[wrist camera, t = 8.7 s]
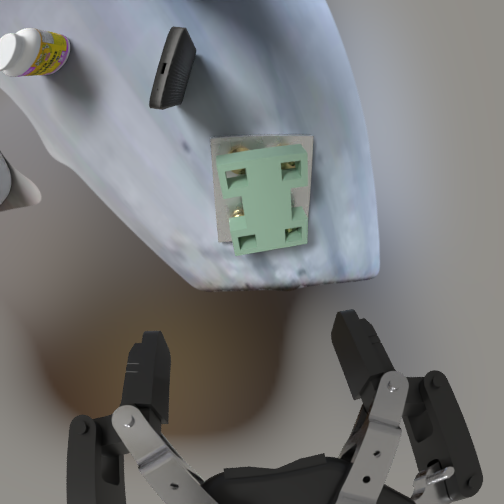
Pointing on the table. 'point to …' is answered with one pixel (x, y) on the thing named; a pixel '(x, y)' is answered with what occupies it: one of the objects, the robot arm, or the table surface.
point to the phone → (173, 70)
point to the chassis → (239, 144)
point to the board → (265, 197)
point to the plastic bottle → (4, 179)
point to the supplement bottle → (33, 52)
